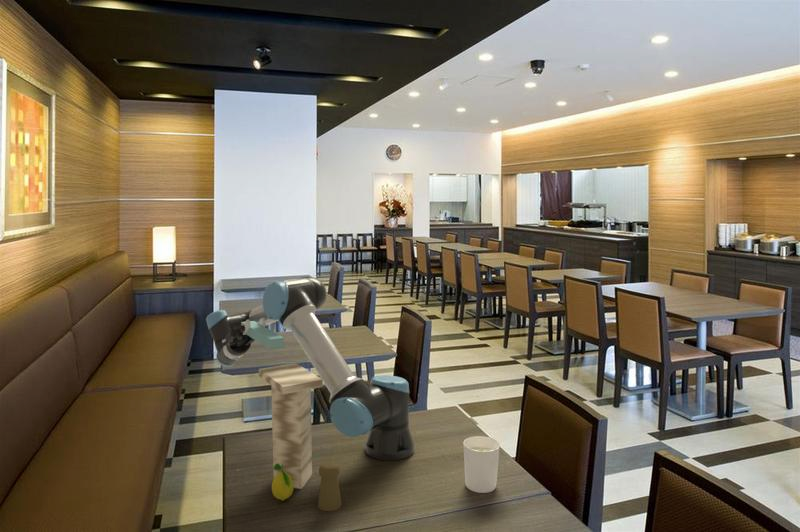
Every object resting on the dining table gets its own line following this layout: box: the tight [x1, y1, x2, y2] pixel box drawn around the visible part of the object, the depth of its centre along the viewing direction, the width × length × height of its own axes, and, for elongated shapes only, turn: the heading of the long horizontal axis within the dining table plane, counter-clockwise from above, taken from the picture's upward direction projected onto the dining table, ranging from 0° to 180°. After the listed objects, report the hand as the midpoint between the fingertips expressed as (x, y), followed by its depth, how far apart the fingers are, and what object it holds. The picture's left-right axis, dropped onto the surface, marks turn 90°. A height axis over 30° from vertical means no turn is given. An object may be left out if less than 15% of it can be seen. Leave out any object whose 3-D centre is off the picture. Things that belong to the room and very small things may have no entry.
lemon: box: [271, 463, 294, 502], centre depth 146 cm, size 7×6×10 cm
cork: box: [317, 460, 342, 512], centre depth 144 cm, size 6×6×11 cm
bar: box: [241, 321, 285, 350], centre depth 170 cm, size 26×4×3 cm, turn 33°
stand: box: [258, 362, 324, 490], centre depth 156 cm, size 11×18×30 cm, turn 33°
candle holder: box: [462, 435, 501, 494], centre depth 154 cm, size 10×10×12 cm
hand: (256, 322), depth 174 cm, fingers closed on bar, 4 cm apart
